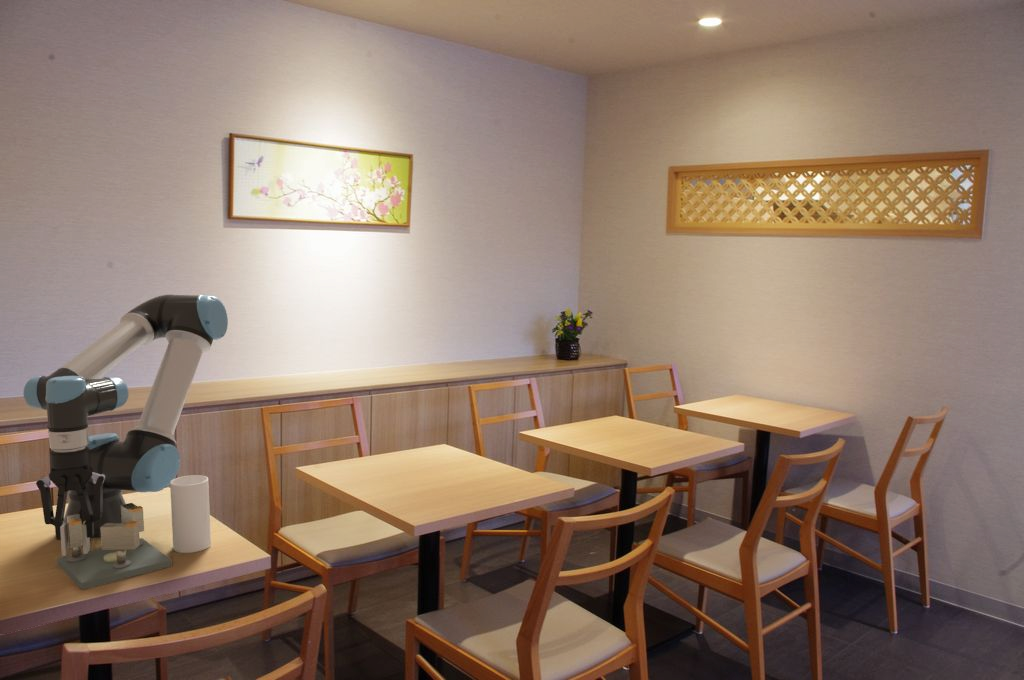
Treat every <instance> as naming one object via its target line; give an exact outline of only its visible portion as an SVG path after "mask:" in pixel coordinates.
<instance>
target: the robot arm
mask: <svg viewBox="0 0 1024 680" xmlns="http://www.w3.org/2000/svg"><path fill="white" fill-rule="evenodd" d="M228 320H229V319H228V313H227V310H226V307H225V305H224V303H223V302H222V301H221V300H220V299H219V298H218V297H216V296H214V295H205V294H199V295H198V294H197V295H194V294H163V295H158V296H156V297H153V298H150V299H148V300H146V301H145V302H142V303H141V304H139V305H136V307H134V308H132V309H131V310H129V311H128V312H126V313H125V314H123V316H122V317H121V318H120V321H119V323H118V324H117V325H115V326H114V327H113V328H112V329H110V330H109V331H107V332H106V333H105V334H104V335H102V336H100V337H99V338H98V339H97V340H96V341H94V342H93V343H91V344H90V345H89V346H87V347H86V348H85V349H83V350H81V352H79V353H77V355H76V356H74V357H72V358H70V360H68V361H67V362H66V363H65V364H63V365H62V366H60V367H59V368H57V370H55V371H54V372H52V373H51V374H49V375H48V376H46V375H40V376H35V377H34V376H33V377H30V378H29V380H28V381H27V382H26V384H25V386H24V388H23V393H22V394H23V399H24V401H25V402H26V404H27V405H28V406H29V407H30V408H33V409H41V410H45V411H46V415H47V426H48V427H47V429H48V443H49V444H48V445H49V449H51V450H50V452H49V459H50V460H49V461H50V472H49V473H48V475H46V476H45V477H40V478H39V479H38V480H37V481H36V482H35V484H36V486H37V488H38V490H39V492H40V498H41V505H42V506H41V507H42V512H43V518H44V520H43V521H44V524H45V525H52V526H54V530H55V539H56V541H60V545H61V557H65V556H68V553H69V552H70V544H69V538H68V523H67V516H70V515H77V514H79V515H80V519H81V521H82V537H83V546H82V552H83V554H87V553H88V552H89V551H90V550H91V540H90V539H91V538H93V537H94V538H95V537H101V530H100V527H101V526H103V525H104V524H106V523H122V519H121V505H123V504H127V503H126V501H125V498H124V496H123V492H122V491H130V492H131V491H132V492H139V493H155V492H156V493H158V492H161V491H163V490H164V489H166V488H168V487H170V482H171V480H173V479H175V478H177V475H178V473H179V470H180V466H181V461H180V458H181V455H180V451H179V450H178V449H177V441H176V439H175V437H174V433H175V431H176V428H177V424H178V422H179V419H180V417H181V414H182V411H183V408H184V405H185V404H186V403H185V402H186V399H187V396H188V395H189V391H190V388H191V385H192V383H193V379H194V377H195V374H196V372H197V369H198V366H199V364H200V360H201V357H202V354H204V353H206V352H209V350H211V348H212V347H211V346H212V344H213V341H215V340H216V341H217V340H220V339H222V338H224V337H225V335H226V333H227V331H228V326H229V325H228V324H229V321H228ZM163 338H164V339H166V340H167V342H168V344H167V347H166V350H165V351H164V355H163V357H162V360H161V362H160V364H159V365H160V366H159V369H158V371H157V373H156V376H155V379H154V381H153V384H152V386H151V389H150V391H149V395H148V397H147V399H146V402H145V405H144V407H143V410H142V413H141V415H140V418H139V421H138V423H137V425H136V426H135V427H133V428H131V429H128V431H127V433H126V436H125V439H124V441H120V437H119V435H118V433H115V432H110V433H109V432H108V433H101V434H94V435H90V436H89V420H88V417H90V416H94V415H98V414H101V413H102V414H103V413H105V412H112V411H115V410H116V409H119V408H121V407H123V406H124V405H125V404H126V403H127V401H128V399H129V388H128V385H127V384H126V382H125V381H124V380H123V379H122V378H119V377H118V376H109V377H108V376H104V375H105V374H107V373H108V372H109V371H110V370H112V369H113V368H114V367H116V365H118V364H119V363H121V362H122V361H123V360H124V359H125V358H127V357H128V356H129V355H130V354H132V353H133V352H135V350H137V349H138V348H139V347H140V346H146V345H150V343H152V342H153V341H154V340H158V339H163ZM103 376H104V377H103ZM102 377H103V378H102ZM51 482H52V483H53V484H54V485H55V487H57V488H58V489H57V500H56V501H57V502H56V509H55V513H54V507H53V499H52V492H51V487H50V486H51ZM67 497H68V498H67ZM67 500H68V502H67ZM67 503H68V505H67ZM66 506H67V507H66ZM54 514H55V515H54Z"/></svg>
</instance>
